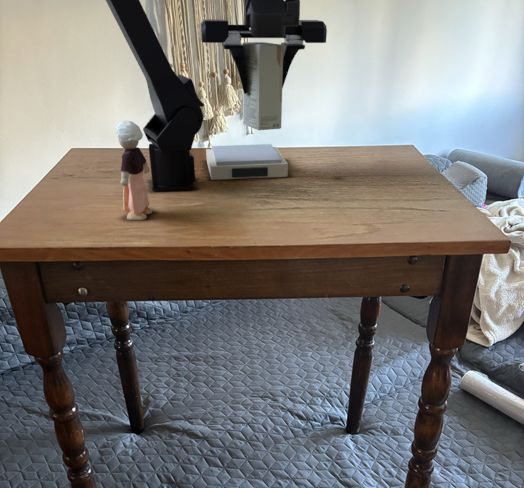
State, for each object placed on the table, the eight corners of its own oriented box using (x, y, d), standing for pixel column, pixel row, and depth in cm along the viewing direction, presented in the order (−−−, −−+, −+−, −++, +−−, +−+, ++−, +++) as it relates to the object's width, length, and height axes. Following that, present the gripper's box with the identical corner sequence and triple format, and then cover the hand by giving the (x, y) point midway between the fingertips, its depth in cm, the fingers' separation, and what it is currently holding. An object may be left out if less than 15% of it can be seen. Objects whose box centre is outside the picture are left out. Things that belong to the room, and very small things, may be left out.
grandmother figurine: (130, 206, 82) (119, 114, 75) (156, 207, 82) (147, 115, 75) (118, 225, 76) (103, 127, 69) (146, 226, 76) (134, 127, 69)
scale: (211, 180, 93) (210, 163, 92) (206, 161, 104) (205, 145, 102) (288, 177, 95) (288, 160, 93) (275, 158, 105) (276, 143, 104)
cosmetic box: (282, 129, 91) (285, 44, 84) (258, 131, 89) (260, 44, 83) (264, 122, 96) (266, 40, 89) (241, 123, 94) (241, 41, 87)
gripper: (200, -26, 73) (205, 102, 82) (339, -24, 75) (330, 101, 84) (198, -25, 83) (203, 90, 91) (322, -23, 85) (315, 90, 93)
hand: (262, 93), depth 90 cm, fingers closed on cosmetic box, 5 cm apart
